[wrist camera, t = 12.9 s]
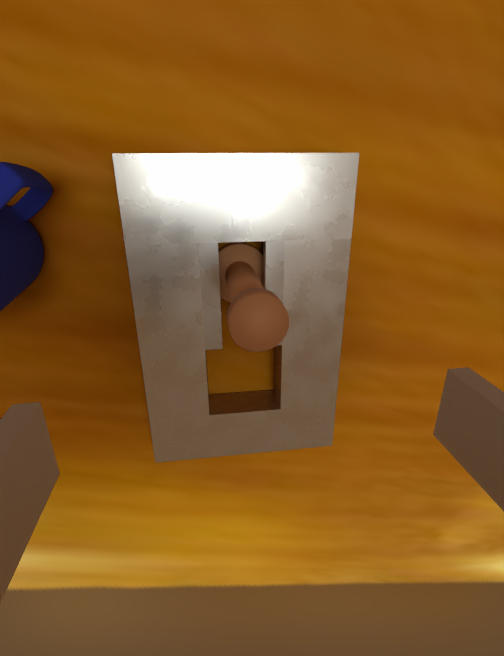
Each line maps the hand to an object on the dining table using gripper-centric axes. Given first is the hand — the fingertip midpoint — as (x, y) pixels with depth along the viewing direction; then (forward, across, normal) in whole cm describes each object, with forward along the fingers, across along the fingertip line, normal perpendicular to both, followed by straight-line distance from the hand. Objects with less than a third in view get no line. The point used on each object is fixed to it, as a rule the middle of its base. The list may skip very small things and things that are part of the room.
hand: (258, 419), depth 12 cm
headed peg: (+21, +2, 0) cm, 21 cm away
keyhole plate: (+21, +2, -4) cm, 22 cm away
